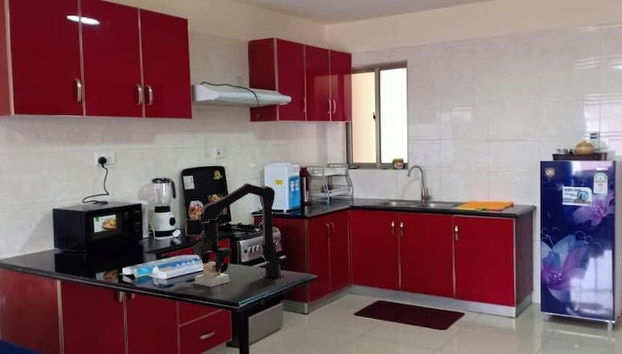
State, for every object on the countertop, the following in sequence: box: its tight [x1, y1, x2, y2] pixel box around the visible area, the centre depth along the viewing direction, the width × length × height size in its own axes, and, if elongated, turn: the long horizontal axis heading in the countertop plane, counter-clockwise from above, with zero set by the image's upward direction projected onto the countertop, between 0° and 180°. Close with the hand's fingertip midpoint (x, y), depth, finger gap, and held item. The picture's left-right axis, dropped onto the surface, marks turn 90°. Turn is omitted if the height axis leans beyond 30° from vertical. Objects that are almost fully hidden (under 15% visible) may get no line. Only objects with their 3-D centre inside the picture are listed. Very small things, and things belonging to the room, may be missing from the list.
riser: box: [194, 272, 230, 288], centre depth 243 cm, size 10×10×3 cm
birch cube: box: [202, 261, 221, 277], centre depth 243 cm, size 5×5×5 cm
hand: (211, 270), depth 243 cm, fingers open, 7 cm apart
